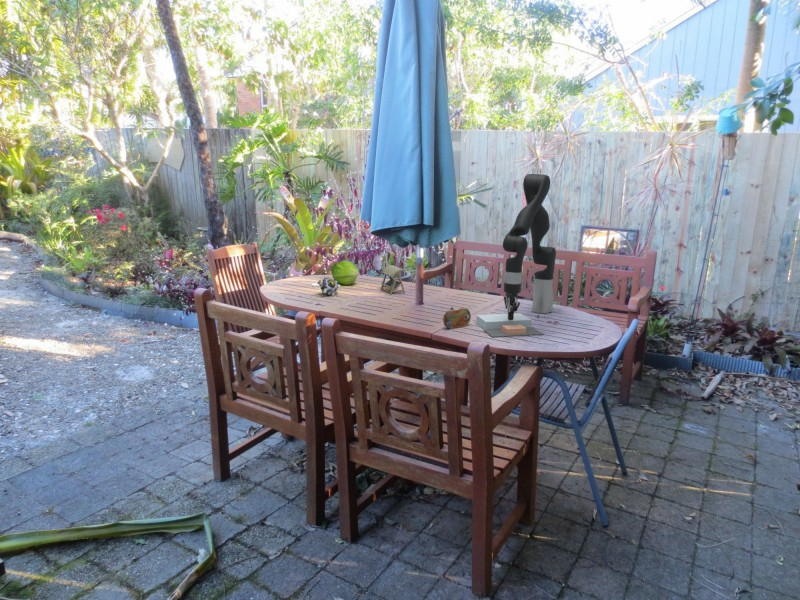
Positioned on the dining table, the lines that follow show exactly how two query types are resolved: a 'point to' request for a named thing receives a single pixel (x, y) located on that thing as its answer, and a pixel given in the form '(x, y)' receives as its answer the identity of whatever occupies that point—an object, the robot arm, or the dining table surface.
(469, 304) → the dining table surface
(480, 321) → the plate
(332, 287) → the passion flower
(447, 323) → the tin
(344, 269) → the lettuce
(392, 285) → the swing bench
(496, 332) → the mat
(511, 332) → the peach rectangular block
